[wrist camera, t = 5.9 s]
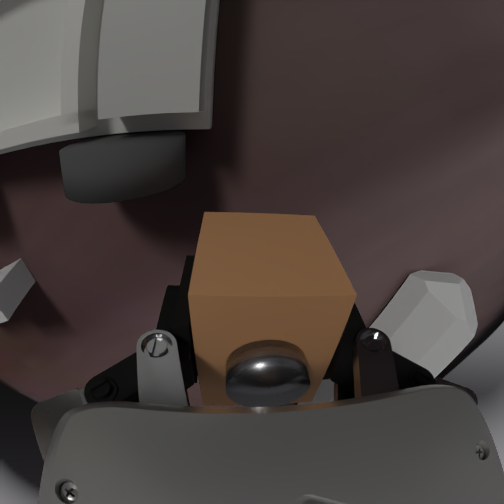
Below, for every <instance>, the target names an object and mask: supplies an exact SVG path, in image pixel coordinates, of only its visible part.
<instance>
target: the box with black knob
mask: <svg viewBox="0 0 504 504" xmlns="http://www.w3.org/2000/svg"><path fill="white" fill-rule="evenodd" d="M356 296H357V294H356V292H355V290H354V288H353V286H352V284H351V282H350V280H349V278H348V276H347V274H346V273H345V271H344V269H343V267H342V265H341V263H340V261H339V259H338V257H337V255H336V253H335V252H334V250H333V248H332V246H331V244H330V242H329V240H328V239H327V237H326V235H325V233H324V231H323V229H322V228H321V226H320V224H319V222H318V221H317V219H316V217H315V216H310V215H290V214H266V213H234V212H204V216H203V221H202V225H201V230H200V235H199V240H198V245H197V250H196V255H195V260H194V265H193V270H192V275H191V281H190V286H189V292H188V300H189V310H190V319H191V327H192V335H193V343H194V350H195V358H196V365H197V371H198V378H199V384H200V390H201V396H202V402H203V404H204V405H243V406H247V407H273V406H281V405H285V404H288V403H300V402H311V401H312V400H313V398H314V396H315V394H316V392H317V390H318V388H319V386H320V384H321V381H322V379H323V377H324V375H325V373H326V371H327V368H328V366H329V364H330V362H331V359H332V357H333V355H334V352H335V350H336V348H337V345H338V343H339V341H340V338H341V336H342V333H343V331H344V328H345V326H346V323H347V321H348V318H349V315H350V313H351V310H352V307H353V305H354V302H355V299H356Z"/></svg>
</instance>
